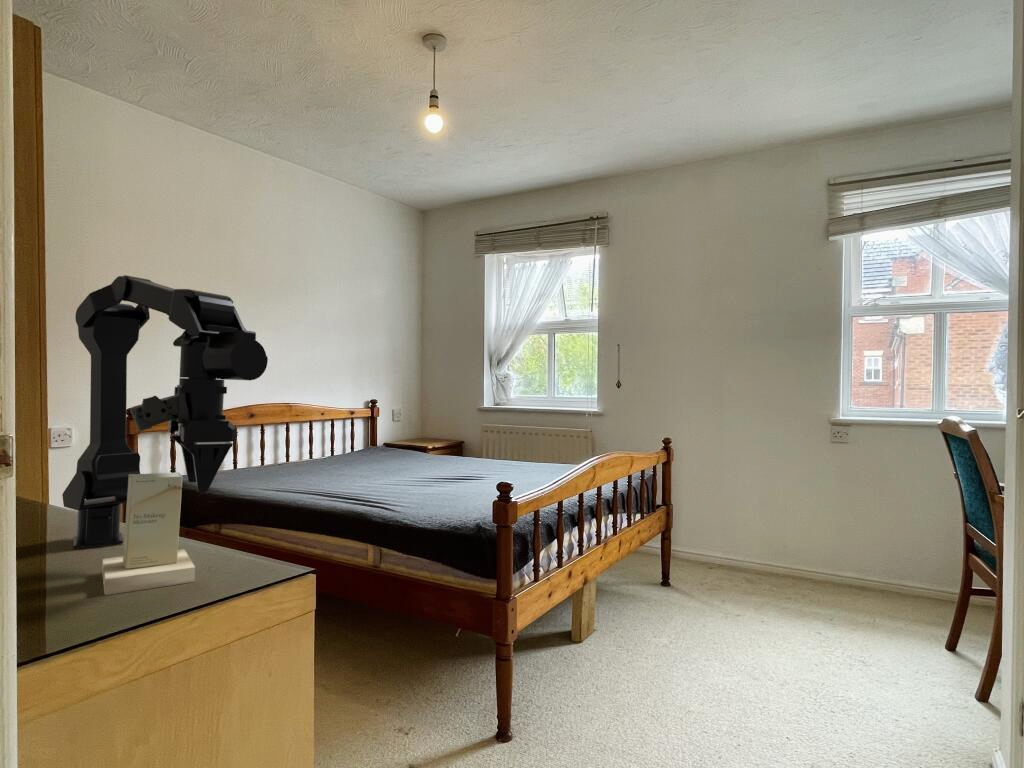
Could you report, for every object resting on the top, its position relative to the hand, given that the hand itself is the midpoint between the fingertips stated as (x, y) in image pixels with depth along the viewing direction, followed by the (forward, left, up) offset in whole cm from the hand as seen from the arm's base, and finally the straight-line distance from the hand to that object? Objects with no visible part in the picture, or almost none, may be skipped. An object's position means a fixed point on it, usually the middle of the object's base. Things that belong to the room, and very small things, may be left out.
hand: (197, 487), depth 83 cm
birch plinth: (0, -6, -12) cm, 13 cm away
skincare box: (0, -5, -10) cm, 12 cm away
